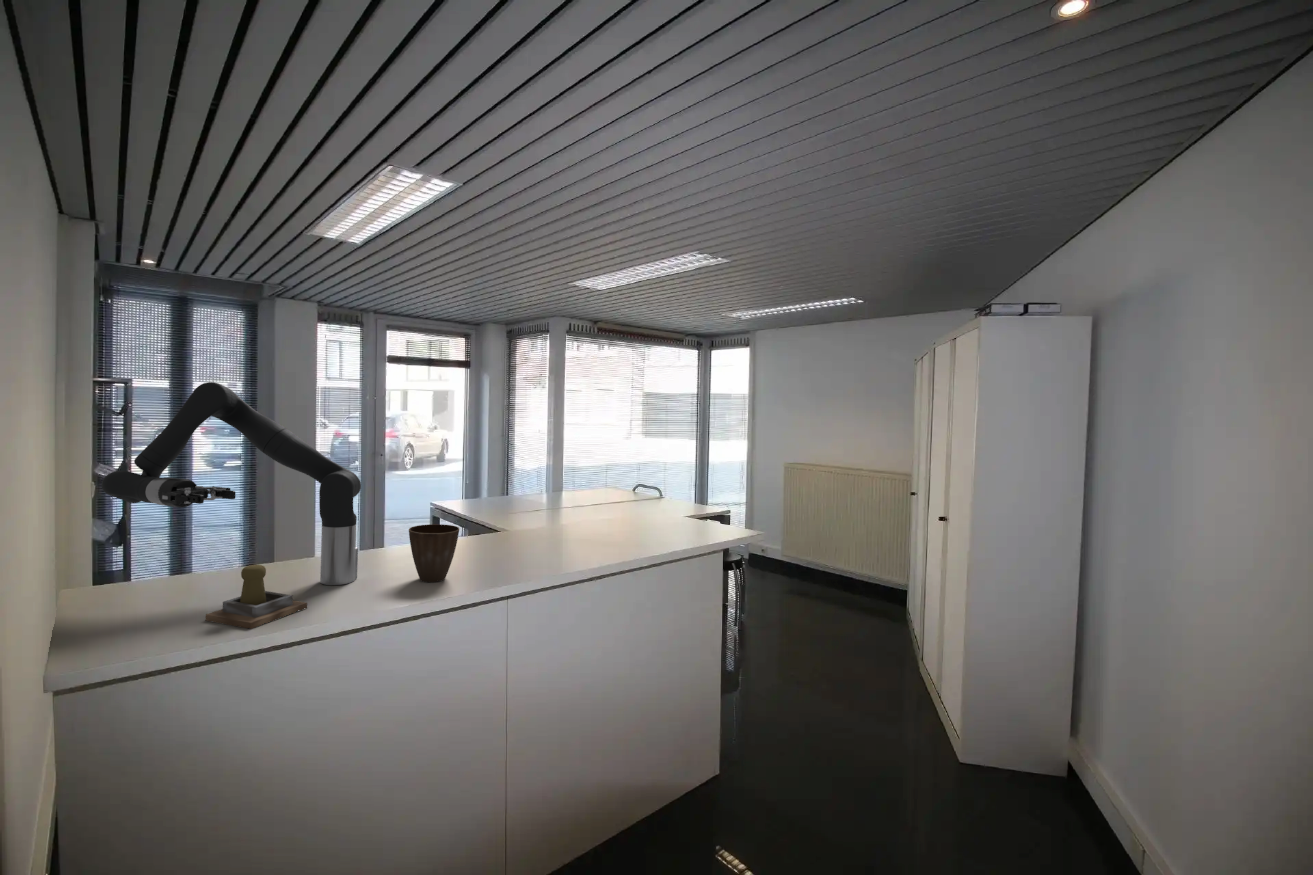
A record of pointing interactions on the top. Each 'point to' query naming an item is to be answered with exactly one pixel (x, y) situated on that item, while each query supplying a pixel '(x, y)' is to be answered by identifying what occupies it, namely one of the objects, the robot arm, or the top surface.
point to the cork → (253, 585)
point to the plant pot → (433, 550)
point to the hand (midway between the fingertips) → (218, 497)
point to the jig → (256, 610)
